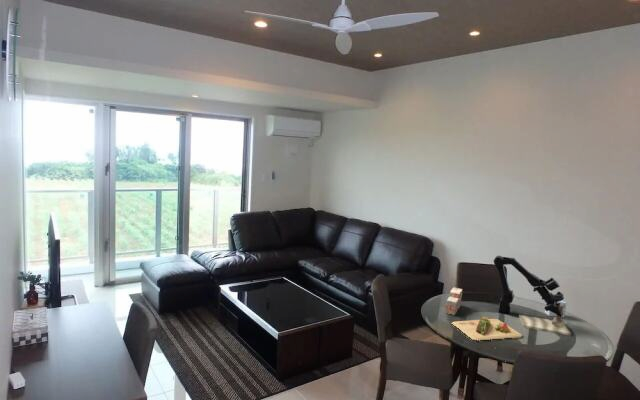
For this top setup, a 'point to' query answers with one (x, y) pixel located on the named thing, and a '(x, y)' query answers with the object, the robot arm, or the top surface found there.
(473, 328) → the cutting board
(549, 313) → the light bulb box
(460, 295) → the stack of blocks
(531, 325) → the plywood board
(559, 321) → the block
